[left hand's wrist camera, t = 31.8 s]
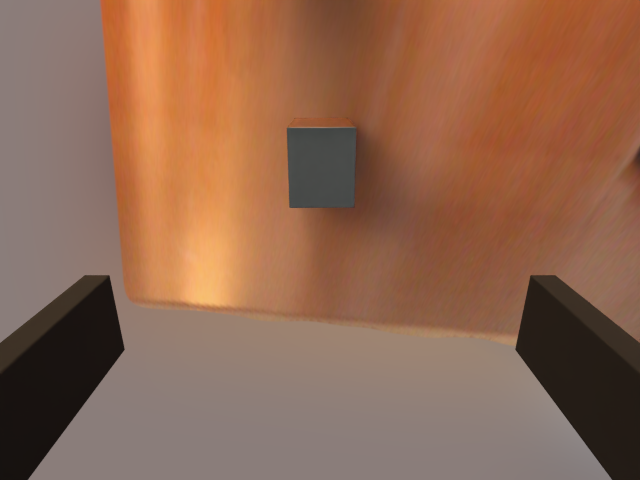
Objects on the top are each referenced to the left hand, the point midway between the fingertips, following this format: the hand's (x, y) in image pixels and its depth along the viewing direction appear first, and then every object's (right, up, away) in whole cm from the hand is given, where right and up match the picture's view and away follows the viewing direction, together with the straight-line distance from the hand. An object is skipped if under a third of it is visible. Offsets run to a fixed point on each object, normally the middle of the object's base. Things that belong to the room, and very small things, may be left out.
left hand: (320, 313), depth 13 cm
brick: (0, +13, +34) cm, 36 cm away
